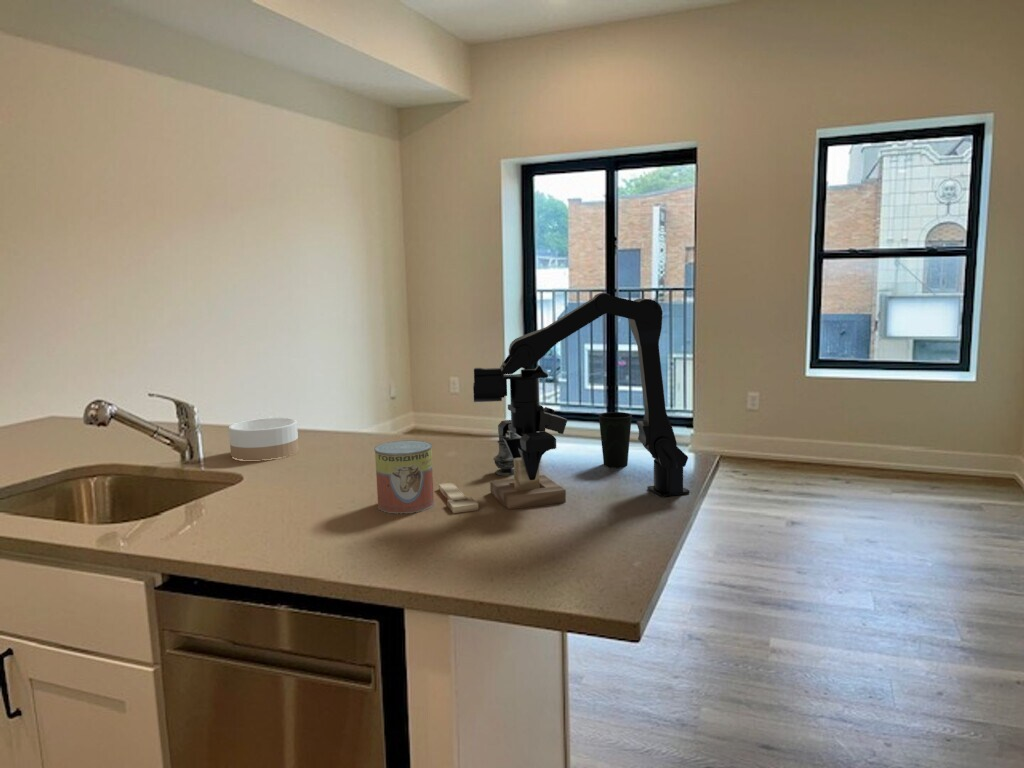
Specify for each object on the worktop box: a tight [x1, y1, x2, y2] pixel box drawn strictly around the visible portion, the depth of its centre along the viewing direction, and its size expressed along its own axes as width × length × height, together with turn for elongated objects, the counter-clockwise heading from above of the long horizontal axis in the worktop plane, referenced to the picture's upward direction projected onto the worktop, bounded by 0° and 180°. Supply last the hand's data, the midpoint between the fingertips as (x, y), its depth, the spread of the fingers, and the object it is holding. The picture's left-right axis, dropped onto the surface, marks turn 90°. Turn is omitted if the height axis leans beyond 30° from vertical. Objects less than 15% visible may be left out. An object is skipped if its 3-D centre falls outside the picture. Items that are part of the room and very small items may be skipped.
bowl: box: [228, 417, 300, 460], centre depth 193 cm, size 17×17×8 cm
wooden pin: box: [513, 457, 540, 491], centre depth 147 cm, size 4×4×8 cm
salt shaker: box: [492, 433, 514, 477], centre depth 166 cm, size 6×6×12 cm
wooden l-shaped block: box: [438, 482, 479, 514], centre depth 148 cm, size 17×5×1 cm, turn 19°
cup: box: [598, 411, 633, 468], centre depth 171 cm, size 8×8×12 cm
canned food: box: [374, 440, 435, 515], centre depth 144 cm, size 11×11×12 cm
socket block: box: [489, 474, 567, 510], centre depth 148 cm, size 12×12×2 cm
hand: (526, 475), depth 147 cm, fingers open, 6 cm apart
